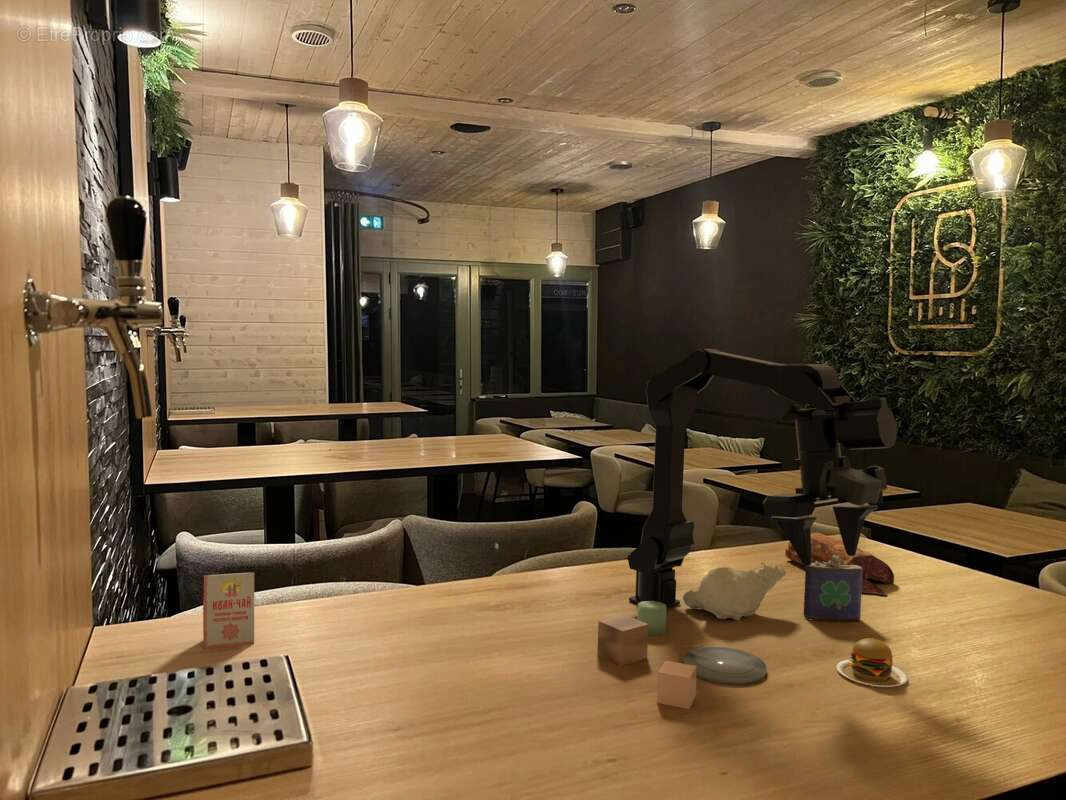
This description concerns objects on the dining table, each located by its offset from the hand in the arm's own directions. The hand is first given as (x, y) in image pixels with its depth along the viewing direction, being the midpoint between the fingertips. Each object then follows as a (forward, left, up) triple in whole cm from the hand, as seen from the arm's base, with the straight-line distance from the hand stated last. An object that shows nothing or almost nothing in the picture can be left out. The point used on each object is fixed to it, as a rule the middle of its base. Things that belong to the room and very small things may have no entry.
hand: (829, 560), depth 113 cm
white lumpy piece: (-20, +5, -15) cm, 25 cm away
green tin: (-22, -13, -14) cm, 29 cm away
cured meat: (-22, +40, -15) cm, 48 cm away
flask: (-9, +16, -15) cm, 24 cm away
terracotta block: (-3, -28, -14) cm, 32 cm away
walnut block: (-17, -24, -14) cm, 33 cm away
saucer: (-6, -15, -14) cm, 21 cm away
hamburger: (+7, 0, -15) cm, 17 cm away
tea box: (-53, -68, -15) cm, 87 cm away
